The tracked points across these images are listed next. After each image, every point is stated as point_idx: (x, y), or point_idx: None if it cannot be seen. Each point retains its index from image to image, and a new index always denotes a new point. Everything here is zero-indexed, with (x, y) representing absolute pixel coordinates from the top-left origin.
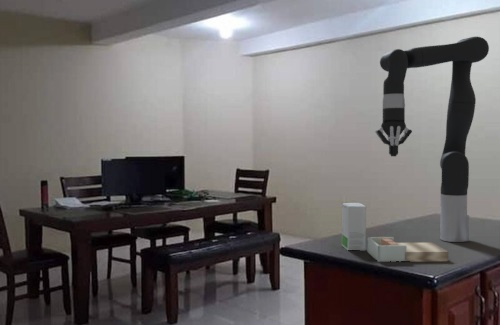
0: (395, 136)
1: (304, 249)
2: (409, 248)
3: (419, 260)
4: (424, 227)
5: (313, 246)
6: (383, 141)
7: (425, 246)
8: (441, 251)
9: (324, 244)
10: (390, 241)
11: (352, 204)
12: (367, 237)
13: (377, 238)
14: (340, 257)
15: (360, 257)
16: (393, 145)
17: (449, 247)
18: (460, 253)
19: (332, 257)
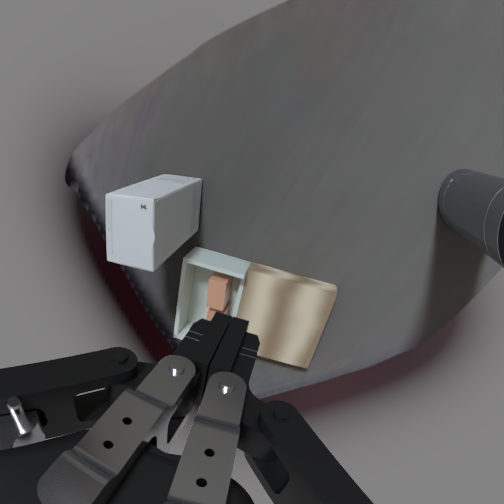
0: (208, 453)
1: (91, 187)
2: (251, 326)
3: None
4: (488, 34)
5: (111, 163)
6: (96, 365)
7: (295, 323)
8: (295, 364)
9: (136, 148)
10: (216, 309)
11: (121, 236)
12: (183, 260)
13: (205, 267)
14: (133, 269)
15: (166, 282)
16: (194, 400)
17: (400, 265)
18: (377, 318)
19: (121, 264)
